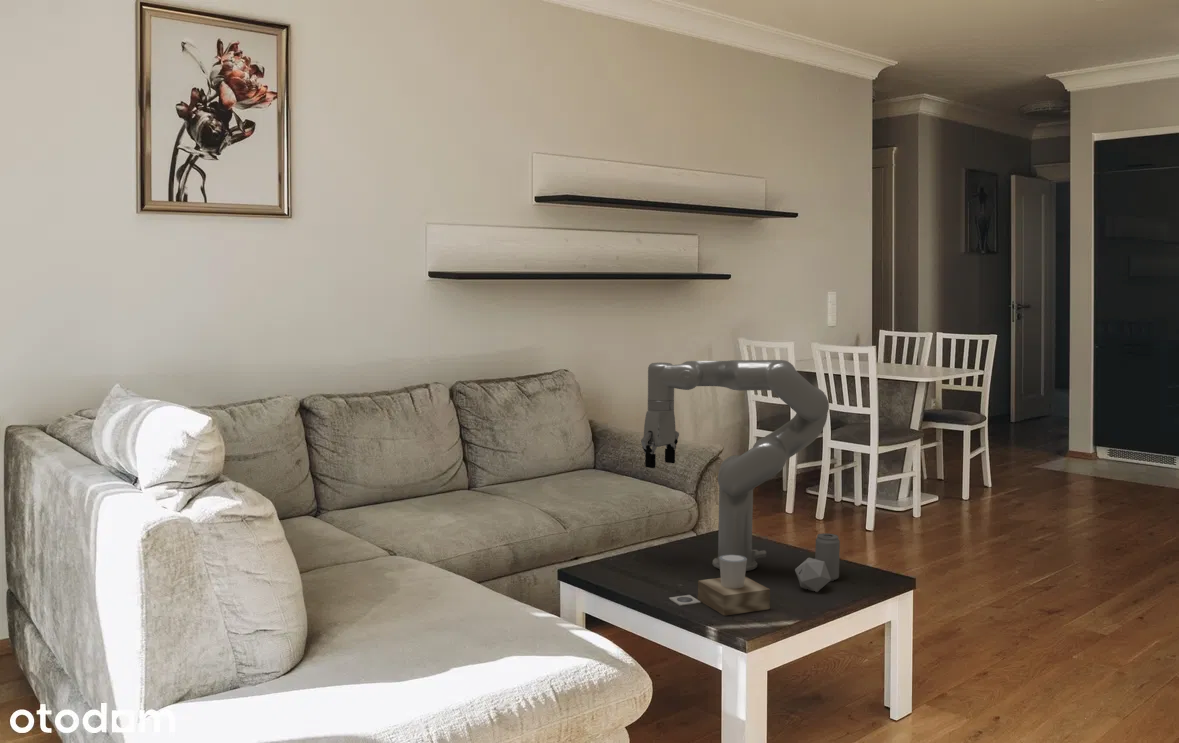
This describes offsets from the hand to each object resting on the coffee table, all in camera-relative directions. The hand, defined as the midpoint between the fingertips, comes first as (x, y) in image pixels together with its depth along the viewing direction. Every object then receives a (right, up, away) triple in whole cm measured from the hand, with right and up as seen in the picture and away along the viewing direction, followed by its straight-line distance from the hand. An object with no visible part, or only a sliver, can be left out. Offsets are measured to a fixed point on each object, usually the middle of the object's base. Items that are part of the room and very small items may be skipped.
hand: (660, 465), depth 280 cm
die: (+39, -31, -22) cm, 54 cm away
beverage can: (+45, -30, -13) cm, 55 cm away
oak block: (+16, -32, -35) cm, 50 cm away
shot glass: (+16, -27, -36) cm, 47 cm away
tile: (+4, -31, -33) cm, 45 cm away
